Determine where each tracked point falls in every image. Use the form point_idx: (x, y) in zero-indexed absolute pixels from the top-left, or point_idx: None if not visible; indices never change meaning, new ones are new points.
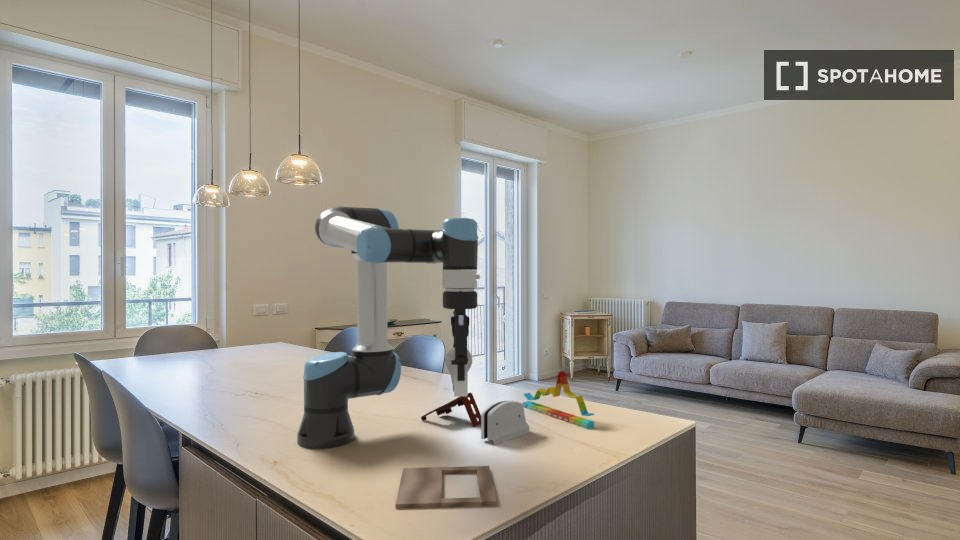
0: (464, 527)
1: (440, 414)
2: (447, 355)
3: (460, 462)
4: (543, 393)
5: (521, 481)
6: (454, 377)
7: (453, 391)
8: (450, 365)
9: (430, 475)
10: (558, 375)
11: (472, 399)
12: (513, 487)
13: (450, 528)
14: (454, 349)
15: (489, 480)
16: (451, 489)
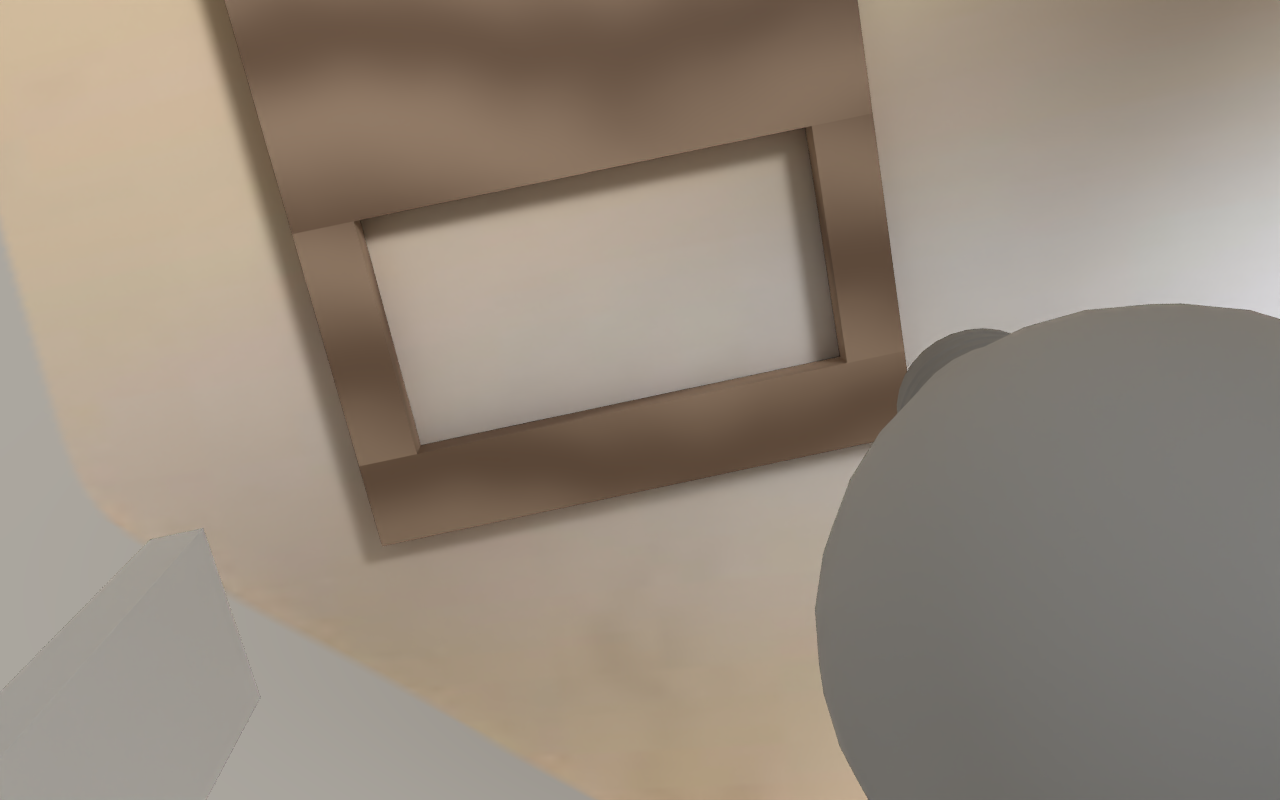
0: (98, 404)
1: None
2: (1070, 449)
3: (1037, 212)
4: None
5: (746, 629)
6: (8, 690)
7: (939, 340)
8: (859, 473)
9: (709, 62)
10: None
11: None
12: (654, 594)
13: (66, 332)
14: (1168, 730)
15: (672, 467)
16: (573, 238)
